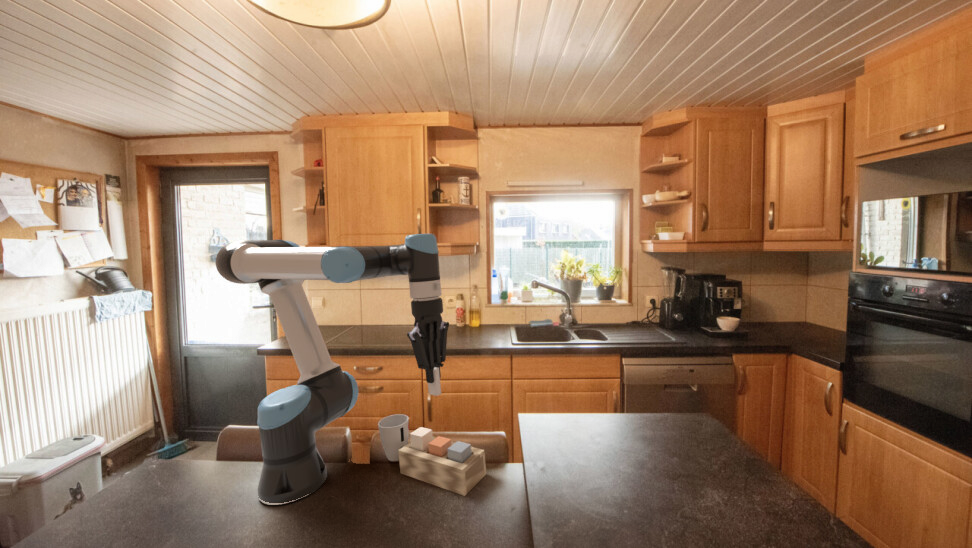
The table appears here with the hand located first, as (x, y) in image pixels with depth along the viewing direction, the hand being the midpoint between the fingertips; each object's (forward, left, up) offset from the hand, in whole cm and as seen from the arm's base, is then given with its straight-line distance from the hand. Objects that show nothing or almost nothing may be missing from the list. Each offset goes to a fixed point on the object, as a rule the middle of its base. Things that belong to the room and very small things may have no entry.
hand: (435, 393), depth 91 cm
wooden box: (0, 0, -20) cm, 20 cm away
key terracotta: (0, 0, -18) cm, 18 cm away
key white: (-6, 0, -17) cm, 18 cm away
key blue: (+6, 0, -18) cm, 19 cm away
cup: (-17, +1, -20) cm, 27 cm away
